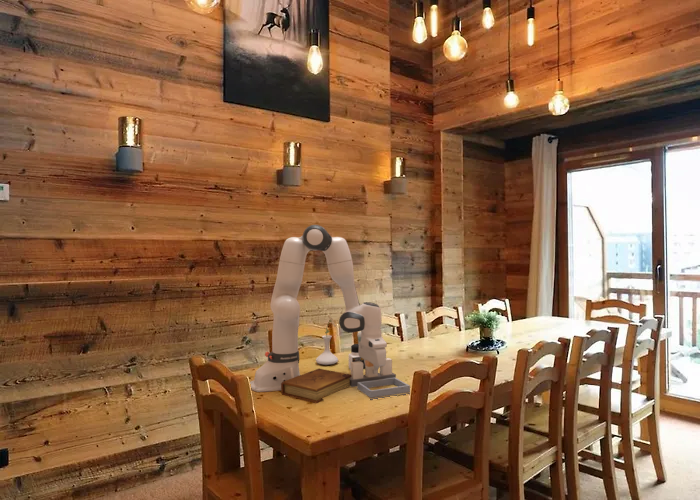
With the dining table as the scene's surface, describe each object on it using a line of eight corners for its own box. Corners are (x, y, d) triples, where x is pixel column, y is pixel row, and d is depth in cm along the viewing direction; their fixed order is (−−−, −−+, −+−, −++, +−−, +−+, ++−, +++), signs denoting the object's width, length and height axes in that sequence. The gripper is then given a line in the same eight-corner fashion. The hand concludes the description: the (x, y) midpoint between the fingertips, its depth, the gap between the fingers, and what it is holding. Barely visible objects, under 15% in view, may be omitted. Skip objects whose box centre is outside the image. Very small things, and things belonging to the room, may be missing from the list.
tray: (370, 400, 189) (370, 391, 189) (357, 391, 201) (357, 382, 200) (409, 394, 196) (409, 385, 196) (394, 385, 208) (394, 377, 207)
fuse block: (351, 389, 203) (351, 381, 203) (345, 384, 209) (344, 376, 209) (397, 382, 212) (397, 374, 212) (390, 378, 218) (390, 370, 218)
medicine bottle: (352, 372, 229) (352, 346, 229) (348, 368, 236) (348, 343, 236) (366, 370, 231) (366, 345, 231) (362, 367, 238) (362, 342, 238)
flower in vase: (335, 367, 238) (335, 316, 238) (313, 365, 241) (312, 315, 240) (341, 360, 251) (341, 312, 250) (319, 359, 253) (319, 311, 253)
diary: (317, 381, 216) (317, 368, 216) (351, 388, 205) (351, 374, 205) (281, 395, 197) (281, 380, 197) (316, 403, 186) (316, 388, 186)
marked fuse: (368, 383, 208) (368, 362, 208) (365, 381, 211) (365, 360, 211) (377, 381, 210) (377, 361, 210) (374, 379, 213) (374, 359, 213)
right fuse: (382, 381, 211) (382, 360, 211) (379, 379, 214) (379, 358, 214) (392, 379, 213) (392, 359, 213) (388, 378, 216) (388, 357, 215)
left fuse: (353, 385, 206) (353, 363, 205) (350, 383, 208) (350, 362, 208) (363, 383, 207) (363, 362, 207) (360, 381, 210) (360, 361, 210)
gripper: (354, 336, 218) (355, 366, 219) (375, 345, 200) (375, 378, 200) (367, 335, 221) (367, 365, 221) (388, 344, 202) (388, 377, 203)
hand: (371, 371), depth 211 cm, fingers open, 6 cm apart
